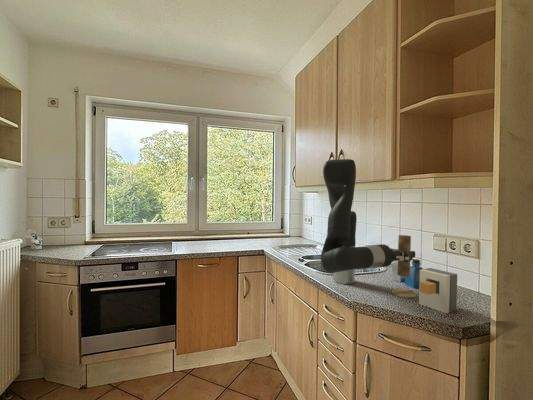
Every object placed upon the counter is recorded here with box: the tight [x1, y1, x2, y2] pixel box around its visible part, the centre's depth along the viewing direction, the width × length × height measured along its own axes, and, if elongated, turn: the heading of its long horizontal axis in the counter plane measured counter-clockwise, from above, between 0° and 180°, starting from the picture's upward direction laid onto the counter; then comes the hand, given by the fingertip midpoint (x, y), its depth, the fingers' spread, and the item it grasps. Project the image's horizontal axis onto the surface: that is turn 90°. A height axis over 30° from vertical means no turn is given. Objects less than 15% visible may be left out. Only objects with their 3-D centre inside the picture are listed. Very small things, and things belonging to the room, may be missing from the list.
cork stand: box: [391, 288, 417, 299], centre depth 124 cm, size 9×9×1 cm
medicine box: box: [391, 261, 405, 283], centre depth 146 cm, size 8×4×9 cm, turn 126°
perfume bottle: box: [404, 258, 424, 290], centre depth 136 cm, size 6×6×12 cm
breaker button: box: [420, 281, 436, 295], centre depth 107 cm, size 3×4×3 cm
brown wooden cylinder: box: [397, 234, 412, 277], centre depth 107 cm, size 4×4×14 cm
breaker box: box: [418, 267, 458, 314], centre depth 110 cm, size 10×6×13 cm, turn 29°
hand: (408, 253), depth 108 cm, fingers closed on brown wooden cylinder, 4 cm apart
